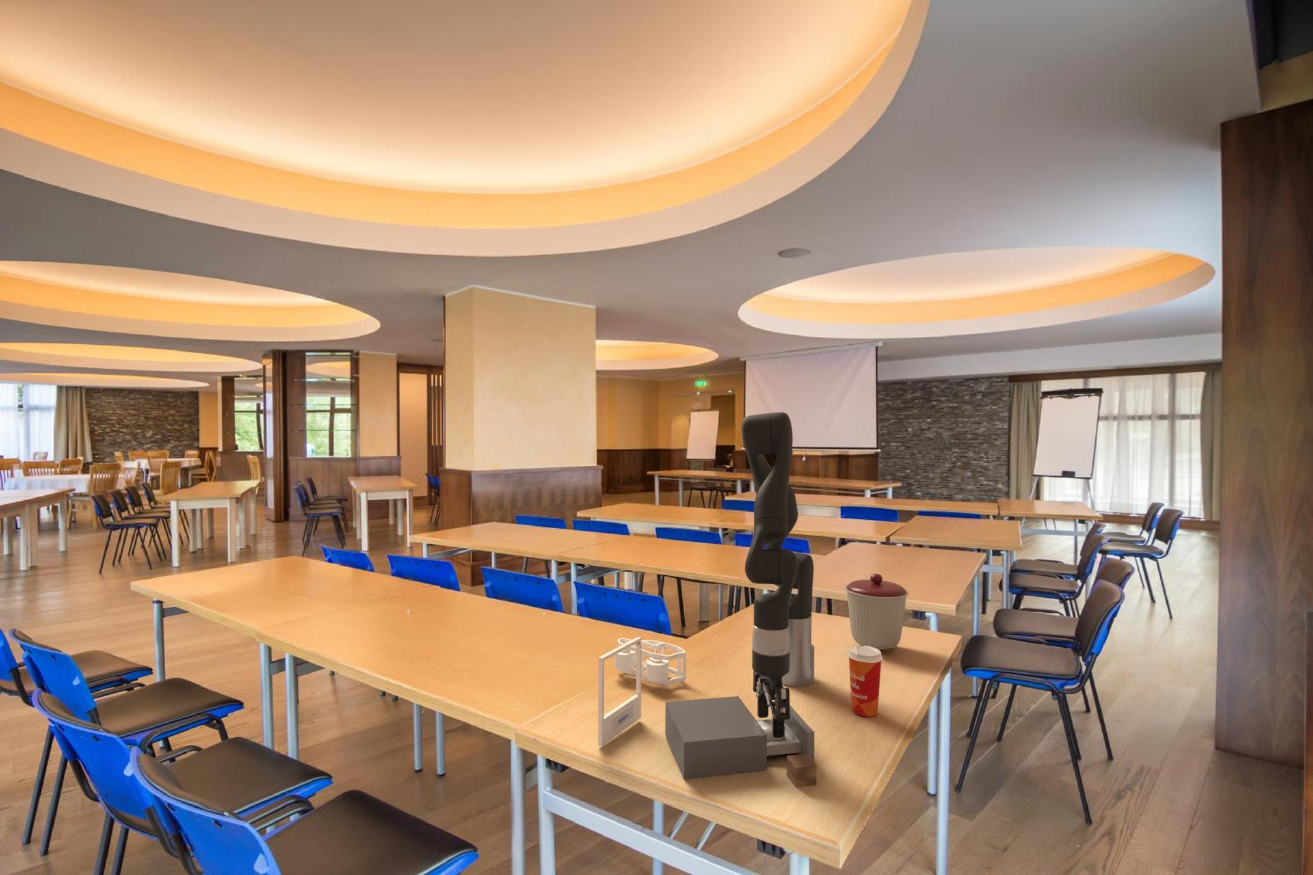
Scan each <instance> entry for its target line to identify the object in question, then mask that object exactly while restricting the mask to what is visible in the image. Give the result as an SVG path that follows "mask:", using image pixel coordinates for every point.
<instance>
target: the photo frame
mask: <svg viewBox="0 0 1313 875" xmlns="http://www.w3.org/2000/svg"><path fill="white" fill-rule="evenodd" d="M630 640H631V641H629V642H627V643H623V645H621V646H618V647H616V648H614V649H611V650H610V651H608V652H607V653H604V654H603V655H600V656H599V657H598V690H597V691H598V703H597V704H598V706H597V707H598V708H597V709H598V711H597V713H598V716H597V718H598V723H597V724H598V727H597V728H598V729H597V730H598V733H597V734H598V735H597V736H598V738H597V739H598V741H597V742H598V746H600V747H604V746H605V745H606V744H607V743H609V742H610V741H612V740H613V739H614V738H616V737H617V736H618V735H620V734H621V733H622V732H624V731H625V730H627V729H628V728H629V727H631V726H632V725H633V724H635V723H636V722H638V721H639V720H640V719H641V718H642V678H641V649H642V646H641V640H642V636H641V637H640V636H637V637H635V638H633V639H630ZM634 644H636V645H634ZM630 646H635V647H636V668H635V671H636V676H635V679H636V680H635V694H634V695H633V696H631V697H630V698H628V699H626V700H625V701H624V702H622V703H620V704H619V705H618V706H616V707H615V708H613V709H612V710H610V711H608V712H607V713H605V661H606V660H608V659H610V658H612V657H613V656H614V655H616V654H617V653H619V652H621V651H623V650H625V649H627V648H629V647H630Z"/></svg>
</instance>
